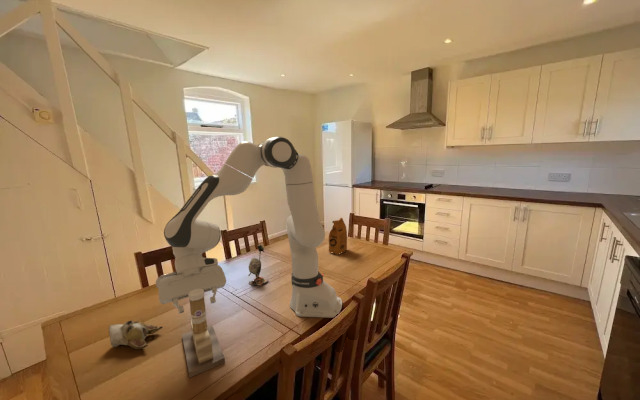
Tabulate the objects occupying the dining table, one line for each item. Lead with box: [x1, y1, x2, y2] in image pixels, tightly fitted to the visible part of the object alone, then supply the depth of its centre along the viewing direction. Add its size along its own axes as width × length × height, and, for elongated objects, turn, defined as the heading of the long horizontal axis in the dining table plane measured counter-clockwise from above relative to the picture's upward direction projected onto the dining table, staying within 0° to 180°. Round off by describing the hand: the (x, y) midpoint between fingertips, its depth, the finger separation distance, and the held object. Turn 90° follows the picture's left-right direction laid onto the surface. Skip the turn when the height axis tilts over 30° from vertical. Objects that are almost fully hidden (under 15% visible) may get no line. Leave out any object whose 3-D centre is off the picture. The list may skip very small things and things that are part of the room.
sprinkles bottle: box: [188, 289, 208, 333], centre depth 83 cm, size 5×5×13 cm
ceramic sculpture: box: [108, 320, 163, 350], centre depth 88 cm, size 11×9×15 cm
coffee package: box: [328, 217, 348, 255], centre depth 168 cm, size 10×12×22 cm
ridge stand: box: [181, 318, 226, 378], centre depth 84 cm, size 20×10×8 cm, turn 34°
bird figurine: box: [248, 244, 269, 286], centre depth 128 cm, size 8×11×20 cm
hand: (197, 307), depth 82 cm, fingers open, 8 cm apart
